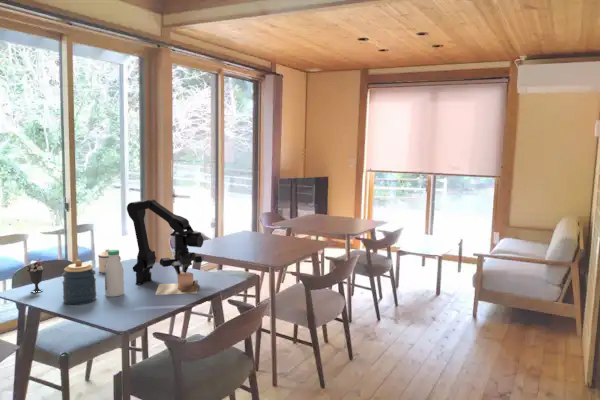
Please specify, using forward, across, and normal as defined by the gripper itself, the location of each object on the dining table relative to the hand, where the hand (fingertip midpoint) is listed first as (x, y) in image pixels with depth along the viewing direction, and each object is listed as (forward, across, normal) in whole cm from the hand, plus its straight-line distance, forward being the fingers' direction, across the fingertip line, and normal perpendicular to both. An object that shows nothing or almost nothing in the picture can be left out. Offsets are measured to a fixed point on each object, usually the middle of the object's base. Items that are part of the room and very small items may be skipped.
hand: (181, 278), depth 225 cm
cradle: (+4, -3, -4) cm, 7 cm away
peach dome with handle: (+3, 0, -4) cm, 5 cm away
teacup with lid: (+5, -22, +47) cm, 52 cm away
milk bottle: (+5, -29, +4) cm, 30 cm away
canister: (+5, -43, +4) cm, 44 cm away
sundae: (+5, -58, +26) cm, 64 cm away
